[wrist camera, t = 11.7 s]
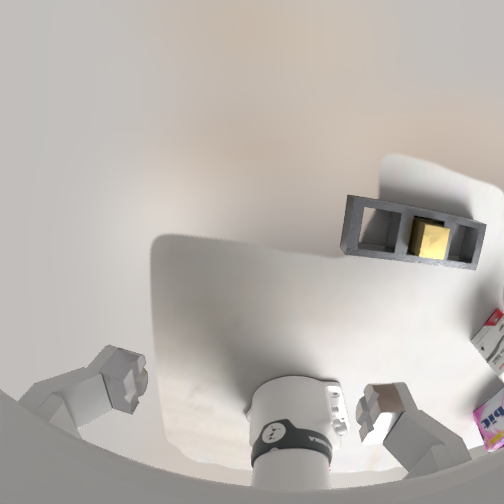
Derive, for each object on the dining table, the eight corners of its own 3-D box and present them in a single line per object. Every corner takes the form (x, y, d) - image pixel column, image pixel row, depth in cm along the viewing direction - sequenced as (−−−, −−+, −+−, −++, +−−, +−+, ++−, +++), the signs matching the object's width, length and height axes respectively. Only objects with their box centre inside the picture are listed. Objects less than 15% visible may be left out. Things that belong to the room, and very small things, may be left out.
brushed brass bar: (428, 219, 34) (450, 229, 28) (423, 246, 35) (443, 259, 30) (405, 215, 34) (425, 224, 29) (400, 243, 36) (418, 256, 30)
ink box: (496, 306, 36) (531, 337, 25) (504, 317, 37) (536, 347, 26) (469, 341, 39) (498, 378, 28) (477, 351, 39) (505, 385, 28)
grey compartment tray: (473, 219, 33) (486, 224, 30) (464, 262, 35) (475, 270, 32) (347, 194, 35) (354, 197, 31) (339, 246, 37) (345, 254, 33)
